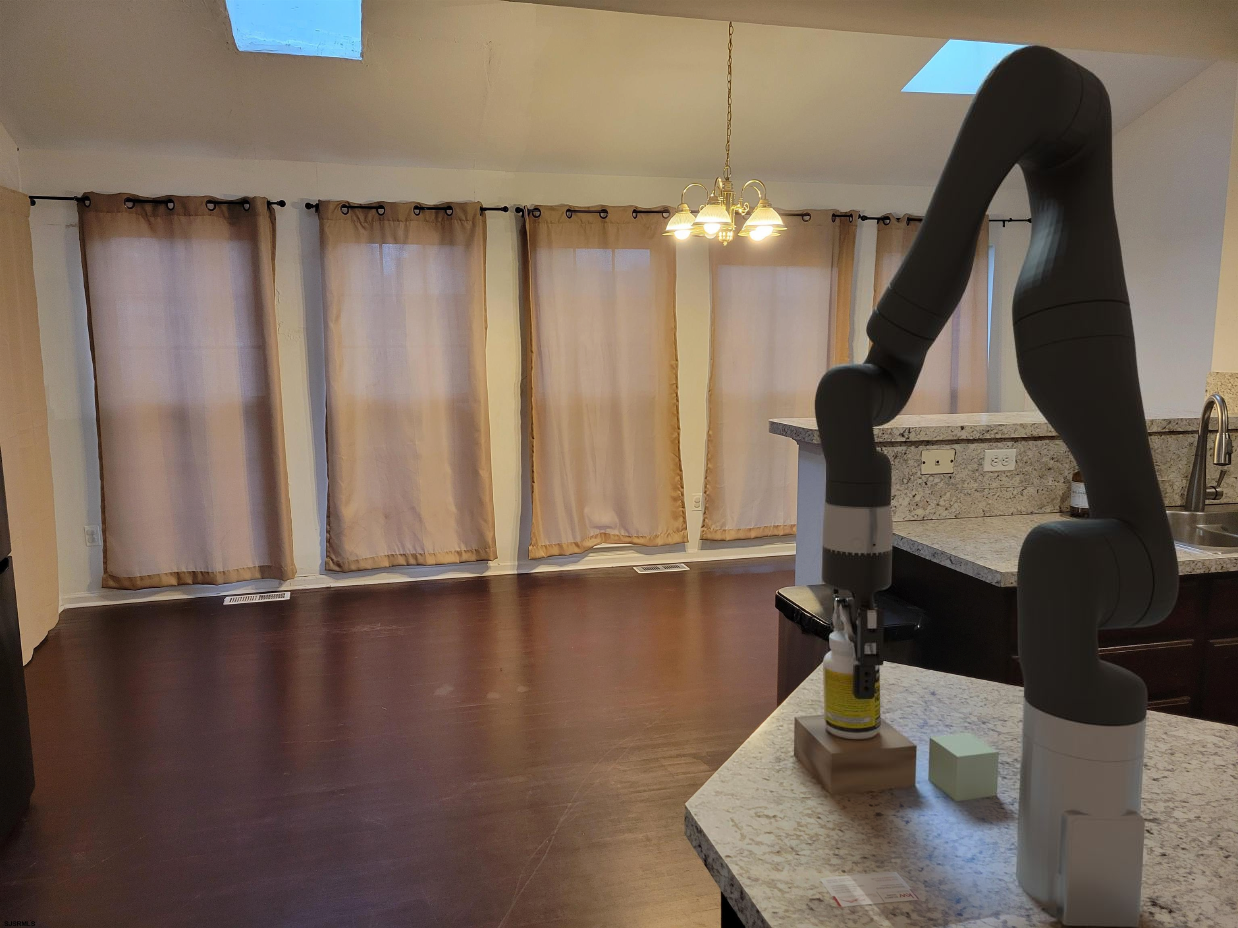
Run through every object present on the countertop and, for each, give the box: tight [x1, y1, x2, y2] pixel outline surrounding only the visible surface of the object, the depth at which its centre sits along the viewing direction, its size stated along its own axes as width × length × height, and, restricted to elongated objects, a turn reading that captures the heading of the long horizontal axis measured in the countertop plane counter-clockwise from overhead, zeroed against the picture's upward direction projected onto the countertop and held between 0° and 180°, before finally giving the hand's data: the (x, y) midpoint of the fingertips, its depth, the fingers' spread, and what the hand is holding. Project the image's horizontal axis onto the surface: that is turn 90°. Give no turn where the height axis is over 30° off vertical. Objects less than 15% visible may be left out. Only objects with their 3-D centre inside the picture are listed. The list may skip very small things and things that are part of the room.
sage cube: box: [927, 732, 1000, 802], centre depth 90 cm, size 5×5×5 cm
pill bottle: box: [822, 630, 882, 739], centre depth 94 cm, size 6×6×11 cm
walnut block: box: [793, 714, 918, 796], centre depth 95 cm, size 10×10×5 cm
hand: (853, 683), depth 94 cm, fingers open, 8 cm apart
